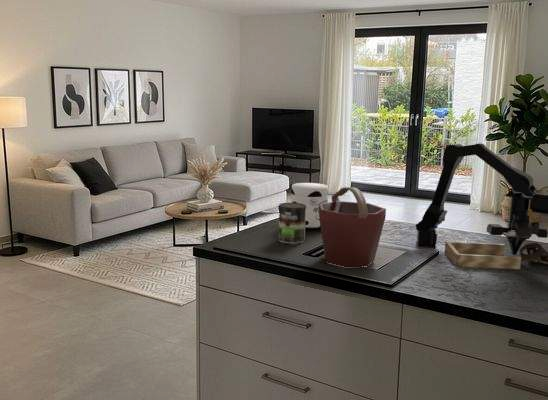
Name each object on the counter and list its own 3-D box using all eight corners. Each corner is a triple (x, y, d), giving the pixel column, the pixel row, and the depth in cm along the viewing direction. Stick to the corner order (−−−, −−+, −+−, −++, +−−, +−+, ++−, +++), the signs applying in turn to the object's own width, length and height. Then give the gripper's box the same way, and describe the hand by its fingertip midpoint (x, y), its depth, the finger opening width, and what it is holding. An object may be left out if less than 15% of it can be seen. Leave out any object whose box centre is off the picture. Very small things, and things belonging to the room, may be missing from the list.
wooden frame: (456, 266, 184) (457, 254, 183) (444, 251, 201) (445, 241, 200) (519, 269, 182) (521, 257, 181) (502, 254, 199) (503, 243, 198)
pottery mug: (556, 269, 184) (549, 250, 181) (527, 279, 187) (520, 260, 184) (543, 251, 195) (536, 232, 192) (516, 260, 197) (509, 242, 194)
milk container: (330, 232, 226) (332, 189, 222) (288, 231, 226) (289, 188, 222) (327, 223, 243) (328, 182, 239) (287, 222, 243) (289, 181, 239)
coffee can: (299, 245, 204) (301, 208, 202) (274, 242, 208) (275, 206, 206) (308, 239, 214) (309, 203, 211) (283, 236, 218) (284, 201, 215)
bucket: (315, 250, 199) (318, 182, 195) (377, 252, 199) (381, 183, 194) (319, 271, 175) (322, 194, 171) (388, 273, 175) (393, 196, 170)
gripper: (498, 214, 180) (493, 260, 183) (557, 217, 179) (551, 263, 181) (488, 207, 191) (483, 251, 194) (543, 210, 189) (538, 253, 192)
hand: (514, 254), depth 190 cm, fingers closed
